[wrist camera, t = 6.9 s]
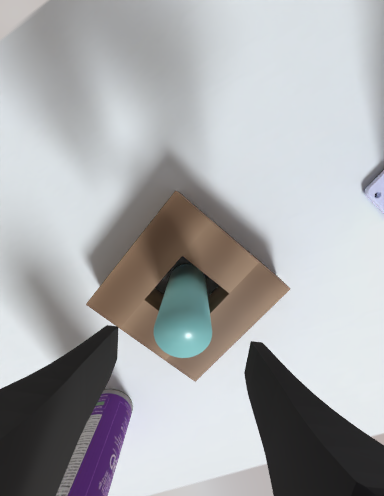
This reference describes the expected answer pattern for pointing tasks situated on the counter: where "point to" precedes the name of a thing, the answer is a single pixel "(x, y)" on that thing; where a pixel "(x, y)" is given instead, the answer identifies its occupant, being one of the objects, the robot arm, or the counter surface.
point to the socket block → (205, 259)
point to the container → (98, 447)
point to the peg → (184, 314)
